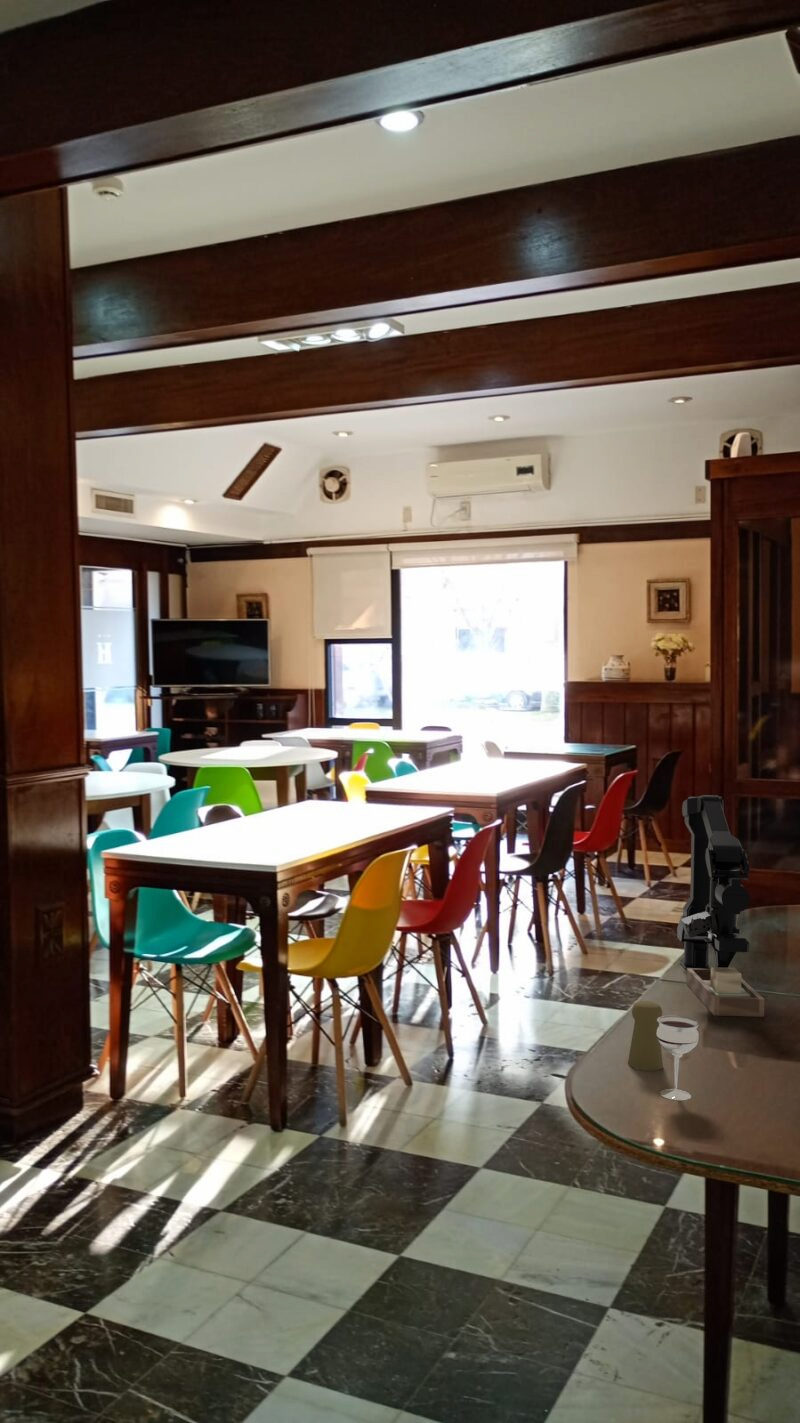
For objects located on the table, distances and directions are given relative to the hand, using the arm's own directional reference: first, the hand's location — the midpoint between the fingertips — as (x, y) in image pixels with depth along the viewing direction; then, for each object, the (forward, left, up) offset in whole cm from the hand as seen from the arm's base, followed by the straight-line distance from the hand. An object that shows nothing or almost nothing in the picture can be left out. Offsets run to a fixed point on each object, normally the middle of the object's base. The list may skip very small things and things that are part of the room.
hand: (720, 974), depth 246 cm
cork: (+44, -25, -5) cm, 51 cm away
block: (+4, 0, -2) cm, 4 cm away
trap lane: (+2, 0, -5) cm, 5 cm away
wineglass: (+58, -23, -5) cm, 62 cm away
